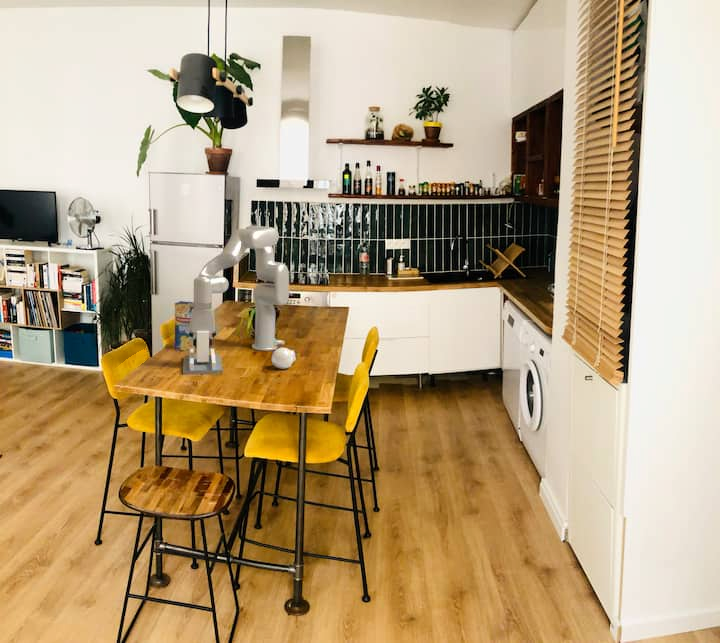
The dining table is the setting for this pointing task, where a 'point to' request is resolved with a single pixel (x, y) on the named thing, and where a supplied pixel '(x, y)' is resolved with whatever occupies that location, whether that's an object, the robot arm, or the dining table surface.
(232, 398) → the dining table surface
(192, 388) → the dining table surface
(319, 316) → the dining table surface
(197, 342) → the carton
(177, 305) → the blue food box
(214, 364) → the grey slotted holder base
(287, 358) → the white rounded lump
